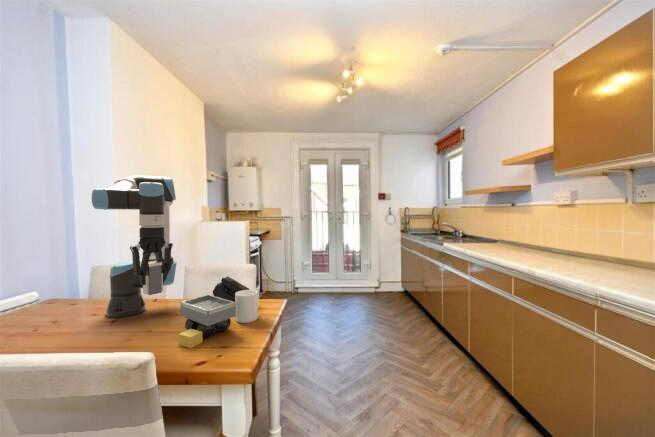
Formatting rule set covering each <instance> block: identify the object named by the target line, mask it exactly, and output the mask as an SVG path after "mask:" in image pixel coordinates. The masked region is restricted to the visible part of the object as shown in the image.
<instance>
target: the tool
mask: <svg viewBox="0 0 655 437" xmlns="http://www.w3.org/2000/svg"><path fill="white" fill-rule="evenodd" d="M242 290H251V289H250V288H249V287H247V286H245V285H244V284H242V283H241V282H239V281H237V280H235V279H233V278H231V277H229V276H225V277H221V280H220V282H218V283H217V284H216V285H215V286H214V288H213V290H212V296H215V297H219V298H222V299H226V300H229V301H233V302H235V293H236V292H238V291H242Z"/></svg>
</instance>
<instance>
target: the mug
mask: <svg viewBox="0 0 655 437" xmlns="http://www.w3.org/2000/svg"><path fill="white" fill-rule="evenodd" d="M235 302H236V316H235V322H237V323H239V324H240V323H241V324H249V323H253V322H255V321H257V319H258V317H259V292H258V291H257V290H256V289H250V290H242V291H238V292H236V293H235Z"/></svg>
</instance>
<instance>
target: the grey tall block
mask: <svg viewBox="0 0 655 437" xmlns="http://www.w3.org/2000/svg"><path fill="white" fill-rule="evenodd" d="M161 265H162V262H158V261H151V262H149V263H148V268H147V273H146V275H148V276H149V294H147V295H148V296H152V295H157V294H162V292H163V291H162V279H161Z"/></svg>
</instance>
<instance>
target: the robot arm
mask: <svg viewBox="0 0 655 437" xmlns="http://www.w3.org/2000/svg"><path fill="white" fill-rule="evenodd" d="M176 200H177V198H176V191H175V184H174V180H173V178H172V177H168V176H157V175H156V176H154V175H153V176H152V175H132V176H131V175H130V176H126V177H125V176H124V177H121V178H119V179H117V180H116V181H115V182H114V183H113V185H112V186H110V187H109V188H105V187H103V188H93V189H92V191H91V204H92V208H94V209H95V210H104V211H106V210H135V211H138V210H139V211H138V212H139V215H138V216H139V218H138V220H139V225H138V226H140V227H139V230H138V231H139V241H138V244H135V245H131V246H130V247H129V250H130V251H131V254H132V255H131V256H132V260H129V261H124V262H120V263H116V264H113V265H112V266H111V267H110V273H109V282H110V283H109V284H110V285H109V286H110V298H109V301H108V303H107V304H108V305H107V307H106V310H105V316H106V317H108V318H123V317H124V318H125V317H130V316H131V317H132V316H134V315H138V314H141V313H143V312H145V311H146V303H145V299H144V297H143V295H142V294H144V295H148V294H149V276H148V275H146V273H147V268H148V263H149V262H151V261H158V262H162V265H161V279H162V292H163V291H164V287H166V286H171V285H173V284H174V283H175V276H176V271H177V270H176V269H177V263H178V262H177V261H176V260H174V257H173V256H172V249H173V246H174V244H173V243H172V242H171V240H170V239H171V238H170V234H171V232H170V230H171V229H170V207H171V206H172V205H173V203H174V201H176ZM140 250H142V259H141V260H140V258H141V256H140Z"/></svg>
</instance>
